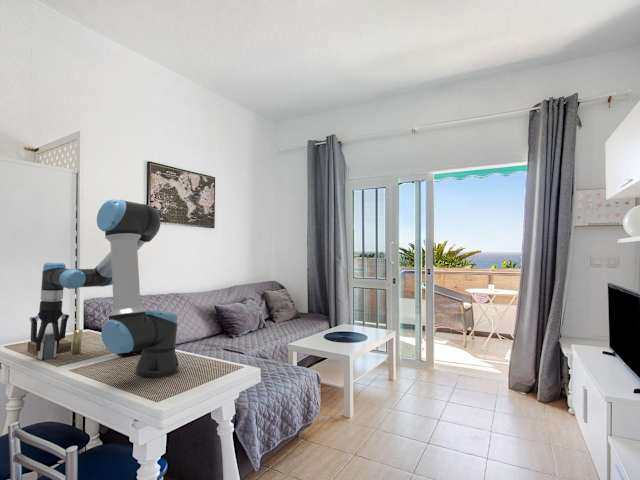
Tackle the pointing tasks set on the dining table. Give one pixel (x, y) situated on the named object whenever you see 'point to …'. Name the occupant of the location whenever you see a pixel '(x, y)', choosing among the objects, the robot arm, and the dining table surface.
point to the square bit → (48, 345)
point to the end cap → (131, 352)
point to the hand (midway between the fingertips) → (46, 357)
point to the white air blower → (50, 329)
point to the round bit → (77, 342)
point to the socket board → (63, 347)
